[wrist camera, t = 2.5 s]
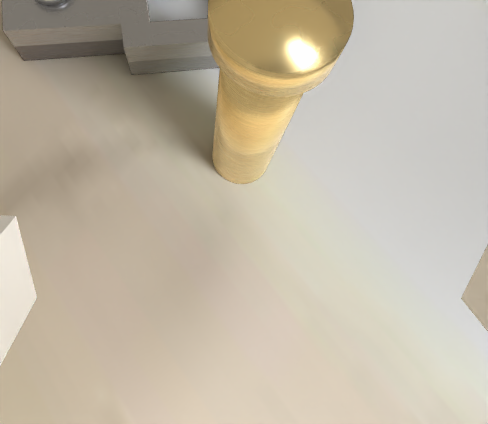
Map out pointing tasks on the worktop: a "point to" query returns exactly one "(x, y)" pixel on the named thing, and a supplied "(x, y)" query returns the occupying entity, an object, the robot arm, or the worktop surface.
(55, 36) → the grey flange mount bracket
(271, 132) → the brass pin
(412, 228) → the worktop surface
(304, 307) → the worktop surface
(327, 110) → the worktop surface
